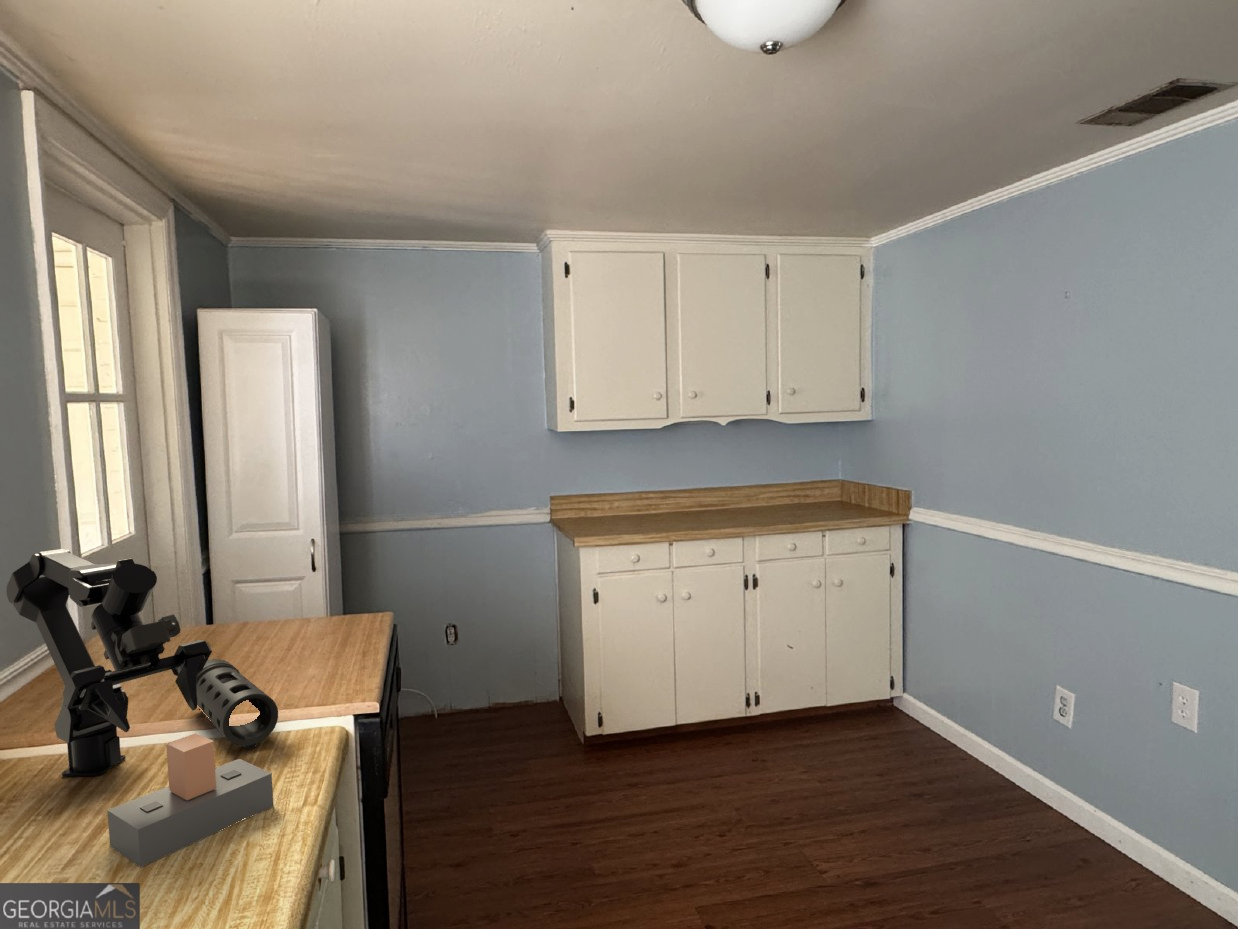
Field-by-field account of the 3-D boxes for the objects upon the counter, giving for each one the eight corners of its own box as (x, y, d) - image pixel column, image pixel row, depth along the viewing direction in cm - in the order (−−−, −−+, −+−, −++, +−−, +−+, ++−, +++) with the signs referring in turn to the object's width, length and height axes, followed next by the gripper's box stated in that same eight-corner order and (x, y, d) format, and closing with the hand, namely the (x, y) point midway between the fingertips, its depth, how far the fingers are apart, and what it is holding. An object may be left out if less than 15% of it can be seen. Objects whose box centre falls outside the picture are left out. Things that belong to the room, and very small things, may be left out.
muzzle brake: (223, 760, 128) (219, 700, 128) (183, 714, 149) (179, 662, 149) (282, 743, 135) (278, 686, 134) (235, 701, 156) (232, 651, 155)
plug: (171, 819, 107) (166, 743, 107) (200, 807, 111) (195, 733, 110) (188, 830, 104) (183, 752, 104) (218, 817, 108) (213, 741, 107)
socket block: (109, 846, 103) (107, 808, 103) (241, 790, 118) (238, 757, 117) (140, 867, 98) (137, 828, 97) (273, 806, 112) (271, 772, 112)
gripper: (64, 616, 106) (104, 710, 100) (202, 588, 121) (243, 669, 115) (46, 662, 111) (84, 754, 105) (181, 630, 126) (219, 709, 120)
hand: (162, 719), depth 111 cm, fingers open, 9 cm apart
